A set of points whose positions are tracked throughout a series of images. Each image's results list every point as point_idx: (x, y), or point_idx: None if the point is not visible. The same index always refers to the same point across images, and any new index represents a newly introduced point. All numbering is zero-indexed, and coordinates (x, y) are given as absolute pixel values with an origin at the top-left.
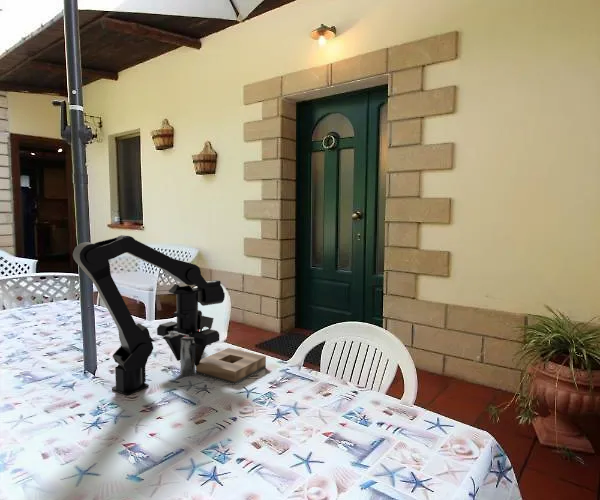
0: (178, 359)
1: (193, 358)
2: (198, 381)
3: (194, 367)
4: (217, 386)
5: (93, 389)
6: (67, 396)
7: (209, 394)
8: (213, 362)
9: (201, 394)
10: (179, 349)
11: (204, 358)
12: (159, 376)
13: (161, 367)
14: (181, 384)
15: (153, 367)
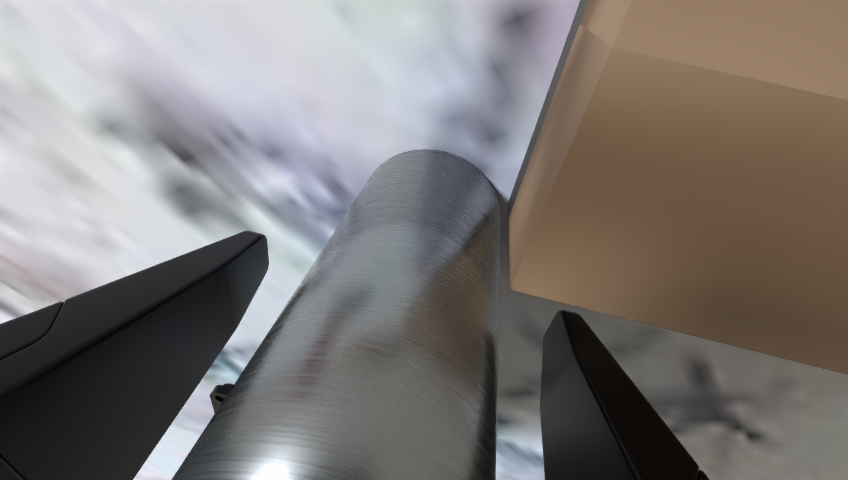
0: (260, 276)
1: (549, 462)
2: (608, 327)
3: (499, 256)
4: (817, 373)
5: (172, 441)
6: (167, 475)
7: (763, 455)
8: (831, 269)
9: (702, 456)
10: (157, 353)
11: (595, 151)
12: (274, 308)
13: (120, 163)
14: (502, 377)
15: (76, 183)
